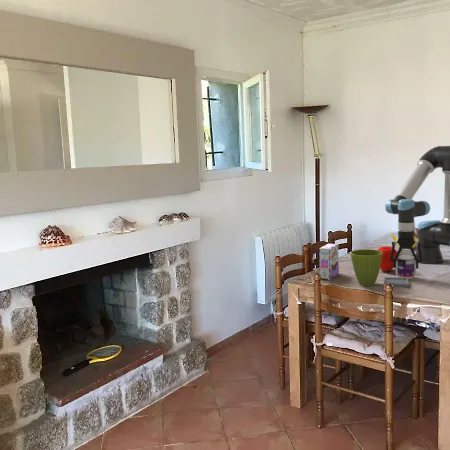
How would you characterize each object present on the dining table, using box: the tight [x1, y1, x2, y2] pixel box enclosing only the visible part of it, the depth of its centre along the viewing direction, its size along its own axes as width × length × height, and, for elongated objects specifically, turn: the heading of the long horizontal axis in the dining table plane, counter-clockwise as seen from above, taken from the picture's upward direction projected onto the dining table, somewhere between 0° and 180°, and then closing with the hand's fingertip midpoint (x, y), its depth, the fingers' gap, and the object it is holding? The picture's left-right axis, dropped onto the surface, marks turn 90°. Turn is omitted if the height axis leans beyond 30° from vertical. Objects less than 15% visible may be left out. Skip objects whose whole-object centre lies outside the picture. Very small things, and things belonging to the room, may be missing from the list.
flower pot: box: [350, 248, 382, 287], centre depth 248 cm, size 15×15×16 cm
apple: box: [377, 246, 398, 272], centre depth 271 cm, size 12×12×13 cm
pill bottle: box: [396, 249, 415, 280], centre depth 255 cm, size 8×8×14 cm
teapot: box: [390, 234, 418, 249], centre depth 324 cm, size 20×18×11 cm
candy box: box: [318, 243, 340, 281], centre depth 265 cm, size 14×6×16 cm, turn 148°
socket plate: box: [383, 276, 410, 289], centre depth 246 cm, size 11×11×2 cm
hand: (405, 274), depth 256 cm, fingers closed on pill bottle, 8 cm apart
